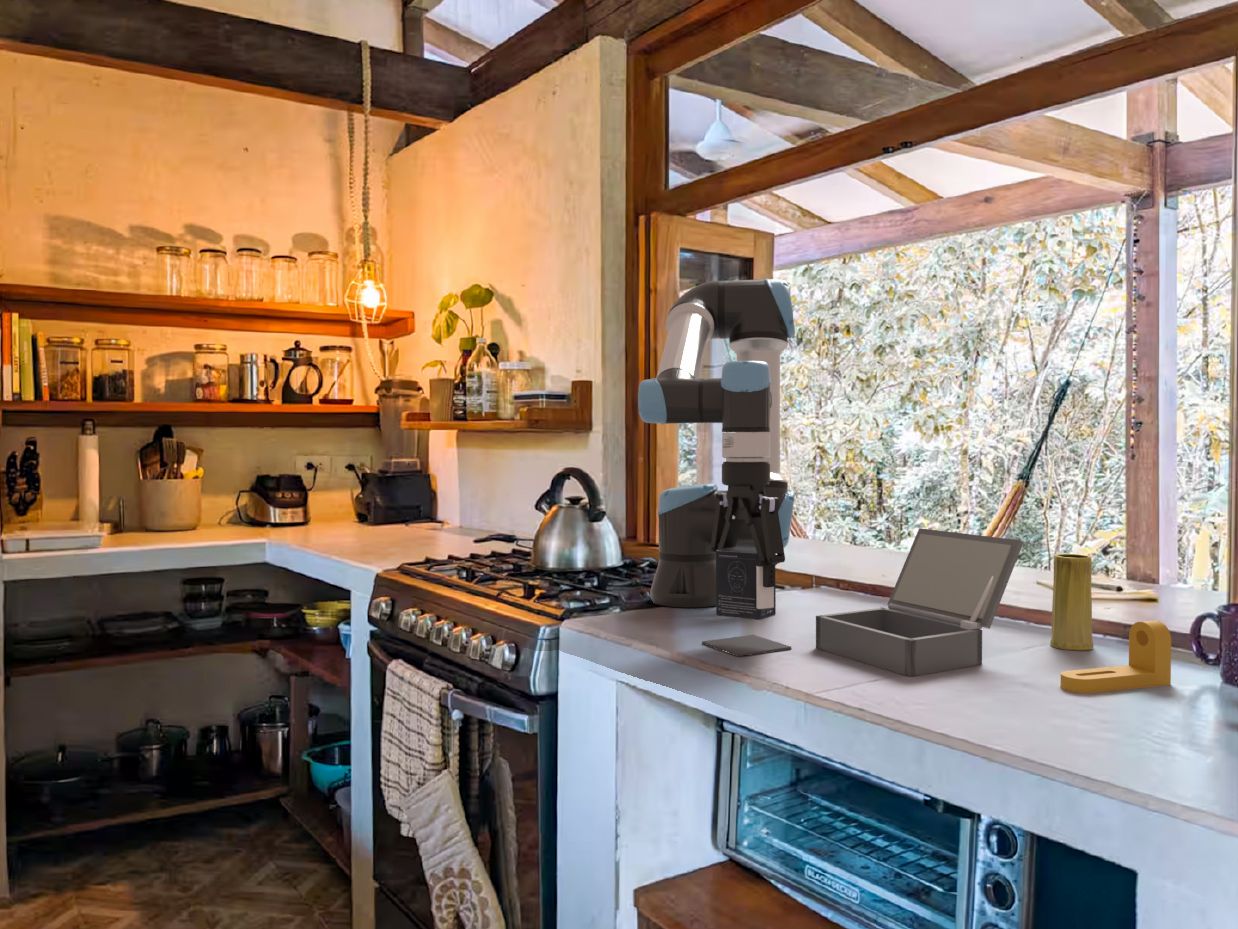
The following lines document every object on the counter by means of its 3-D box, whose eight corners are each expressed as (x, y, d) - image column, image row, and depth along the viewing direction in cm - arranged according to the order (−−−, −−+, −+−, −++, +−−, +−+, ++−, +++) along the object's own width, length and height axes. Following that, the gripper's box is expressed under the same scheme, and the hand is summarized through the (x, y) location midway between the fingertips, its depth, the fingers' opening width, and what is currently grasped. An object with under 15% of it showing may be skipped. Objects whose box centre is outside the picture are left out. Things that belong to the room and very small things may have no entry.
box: (776, 615, 149) (776, 548, 148) (760, 621, 144) (759, 552, 144) (732, 610, 153) (732, 545, 153) (714, 616, 149) (714, 549, 148)
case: (815, 647, 148) (815, 535, 147) (921, 632, 158) (922, 528, 158) (910, 676, 130) (910, 549, 130) (1022, 657, 141) (1023, 540, 140)
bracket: (1143, 677, 130) (1144, 617, 129) (1170, 686, 125) (1171, 624, 125) (1052, 686, 125) (1053, 624, 125) (1077, 695, 121) (1078, 631, 121)
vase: (1090, 643, 149) (1091, 554, 149) (1096, 652, 144) (1097, 559, 143) (1048, 641, 151) (1049, 552, 151) (1052, 649, 146) (1053, 557, 145)
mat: (702, 643, 151) (702, 641, 151) (753, 637, 156) (753, 634, 156) (738, 656, 142) (738, 654, 142) (791, 649, 147) (791, 646, 147)
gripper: (688, 459, 156) (688, 594, 157) (768, 462, 137) (769, 616, 137) (726, 458, 159) (726, 590, 160) (810, 461, 140) (809, 612, 141)
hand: (746, 602), depth 149 cm, fingers closed on box, 9 cm apart
